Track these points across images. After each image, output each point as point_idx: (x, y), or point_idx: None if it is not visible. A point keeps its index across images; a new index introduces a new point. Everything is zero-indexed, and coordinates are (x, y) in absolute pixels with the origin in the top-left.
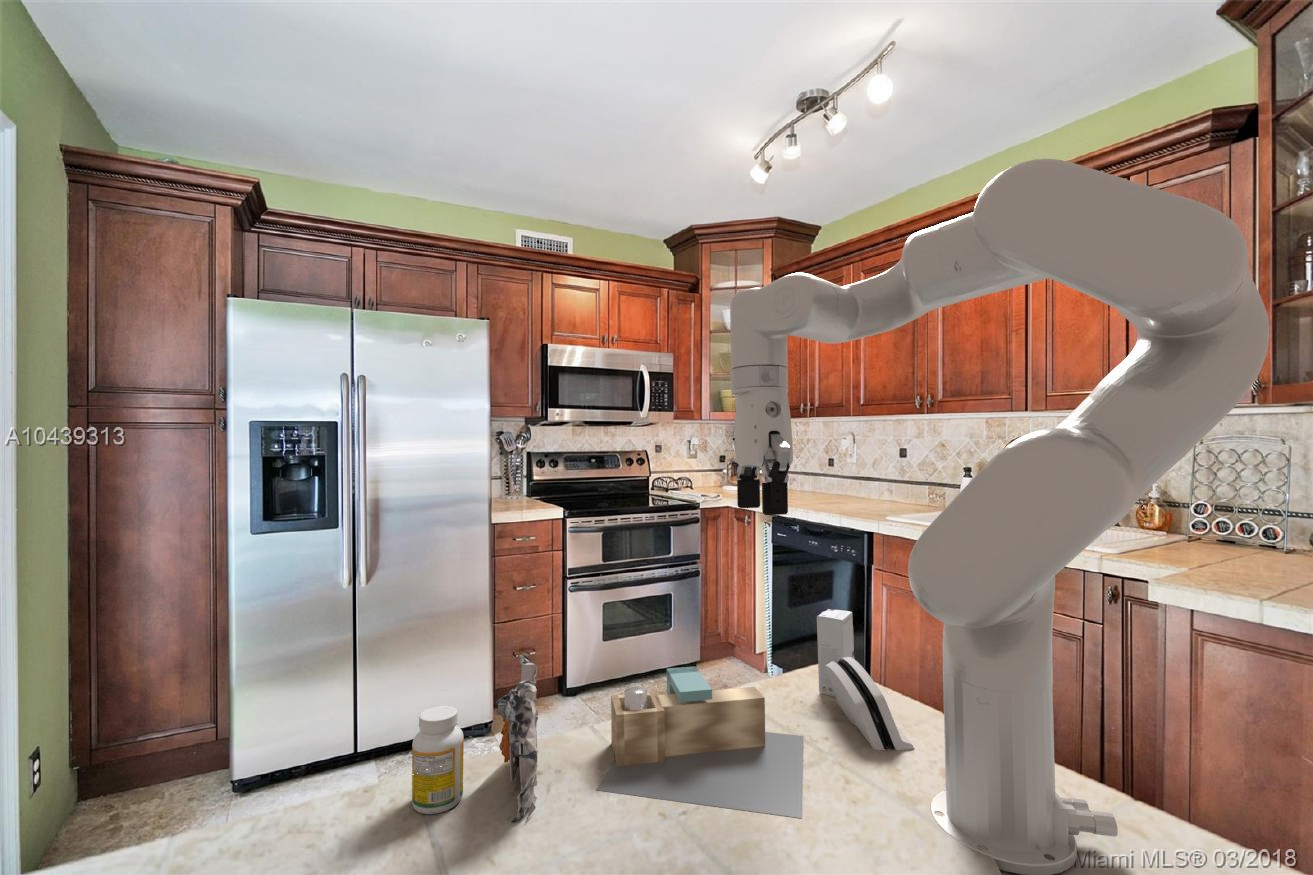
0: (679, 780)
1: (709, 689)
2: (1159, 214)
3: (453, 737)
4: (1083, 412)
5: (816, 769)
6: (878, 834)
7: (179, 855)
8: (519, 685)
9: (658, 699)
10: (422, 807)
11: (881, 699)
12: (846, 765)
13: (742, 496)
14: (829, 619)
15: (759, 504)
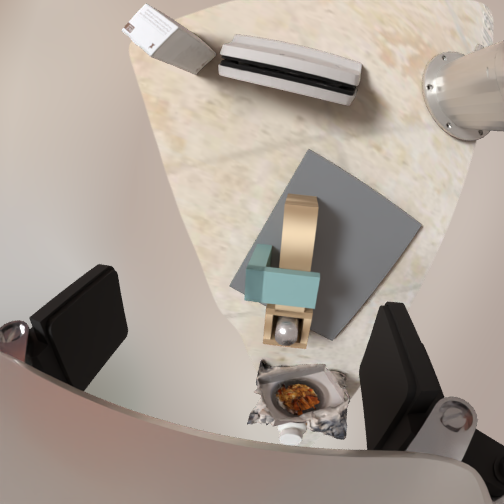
0: (344, 288)
1: (318, 280)
2: None
3: (301, 426)
4: None
5: (352, 161)
6: (439, 173)
7: None
8: (316, 430)
9: (285, 311)
10: None
11: (357, 78)
12: (354, 131)
13: (107, 349)
14: (165, 42)
15: (112, 273)
